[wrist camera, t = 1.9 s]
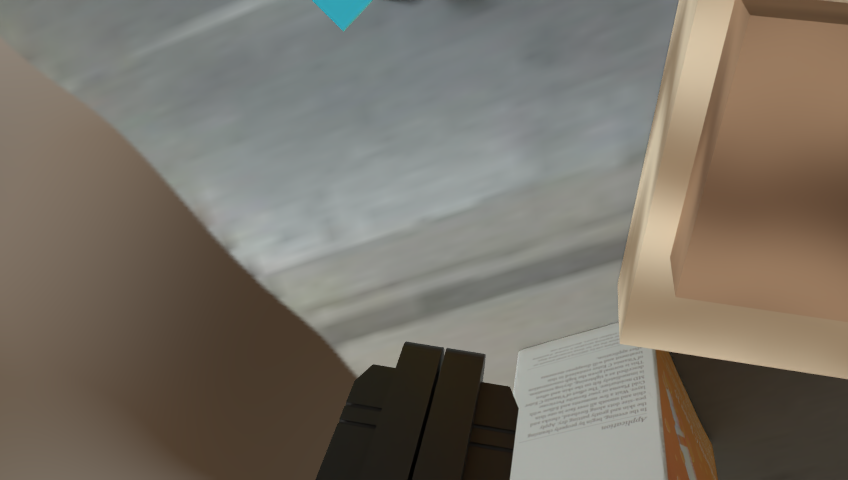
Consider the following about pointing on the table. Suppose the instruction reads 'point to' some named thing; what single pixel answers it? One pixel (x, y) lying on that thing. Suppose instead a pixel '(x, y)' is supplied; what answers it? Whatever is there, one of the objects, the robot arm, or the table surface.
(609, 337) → the small box
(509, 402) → the robot arm
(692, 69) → the birch deck
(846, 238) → the walnut tile
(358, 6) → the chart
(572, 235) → the table surface
